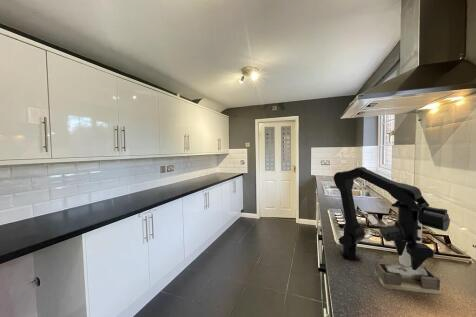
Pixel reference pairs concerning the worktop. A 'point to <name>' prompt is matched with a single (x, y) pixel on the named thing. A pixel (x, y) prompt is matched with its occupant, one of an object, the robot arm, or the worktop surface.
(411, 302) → the worktop surface
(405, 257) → the cylindrical container
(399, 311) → the worktop surface
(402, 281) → the board
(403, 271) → the rail
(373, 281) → the worktop surface
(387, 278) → the brackets
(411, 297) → the worktop surface
